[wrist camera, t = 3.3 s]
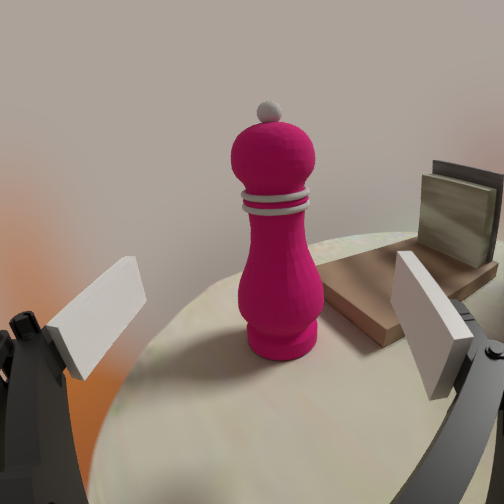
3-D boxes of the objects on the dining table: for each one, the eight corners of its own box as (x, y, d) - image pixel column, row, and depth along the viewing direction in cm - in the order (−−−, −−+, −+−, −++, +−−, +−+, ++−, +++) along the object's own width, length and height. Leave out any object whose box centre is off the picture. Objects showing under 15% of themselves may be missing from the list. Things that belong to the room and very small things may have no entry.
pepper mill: (332, 325, 28) (332, 101, 20) (302, 375, 22) (294, 90, 15) (267, 310, 31) (251, 108, 24) (227, 350, 26) (195, 106, 18)
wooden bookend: (426, 244, 43) (432, 159, 38) (495, 276, 31) (511, 175, 26) (305, 283, 36) (301, 165, 31) (383, 347, 24) (403, 185, 18)
